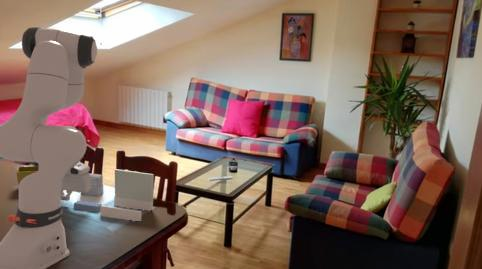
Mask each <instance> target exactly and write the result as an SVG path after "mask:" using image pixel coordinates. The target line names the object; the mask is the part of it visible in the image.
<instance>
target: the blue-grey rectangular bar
mask: <svg viewBox="0 0 482 269" xmlns="http://www.w3.org/2000/svg"><path fill="white" fill-rule="evenodd" d="M101 205H103V204H102V203H96V202H90V201H84V200H83V201H82V200H77V201H75V202H74V203H73V209H77V210H83V211H89V212H90V211H91V212H100V206H101Z"/></svg>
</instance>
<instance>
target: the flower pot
mask: <svg viewBox="0 0 482 269" xmlns="http://www.w3.org/2000/svg"><path fill="white" fill-rule="evenodd" d="M38 169H39V167H35V166H33V165H29V166H18V167H17V170H16V177H17V178H16V179H17V184H18V185H19V184H20V182H21V181H22V179H23V178H25V177H26V176H28V175H30V174H32V173H35V172H37V171H38Z"/></svg>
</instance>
